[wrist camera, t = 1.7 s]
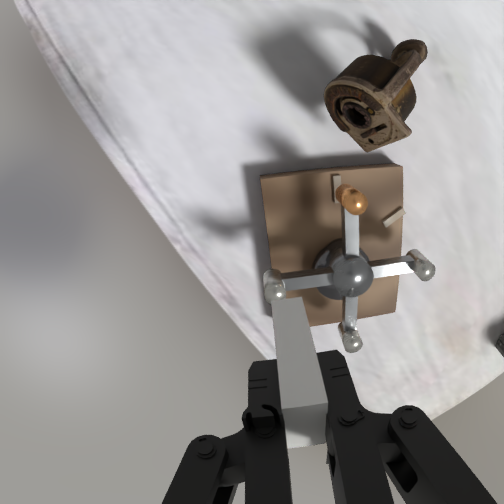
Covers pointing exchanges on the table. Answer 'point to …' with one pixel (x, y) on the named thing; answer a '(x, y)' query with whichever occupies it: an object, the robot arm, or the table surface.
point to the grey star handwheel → (346, 268)
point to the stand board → (334, 229)
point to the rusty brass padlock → (376, 95)
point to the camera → (501, 345)
